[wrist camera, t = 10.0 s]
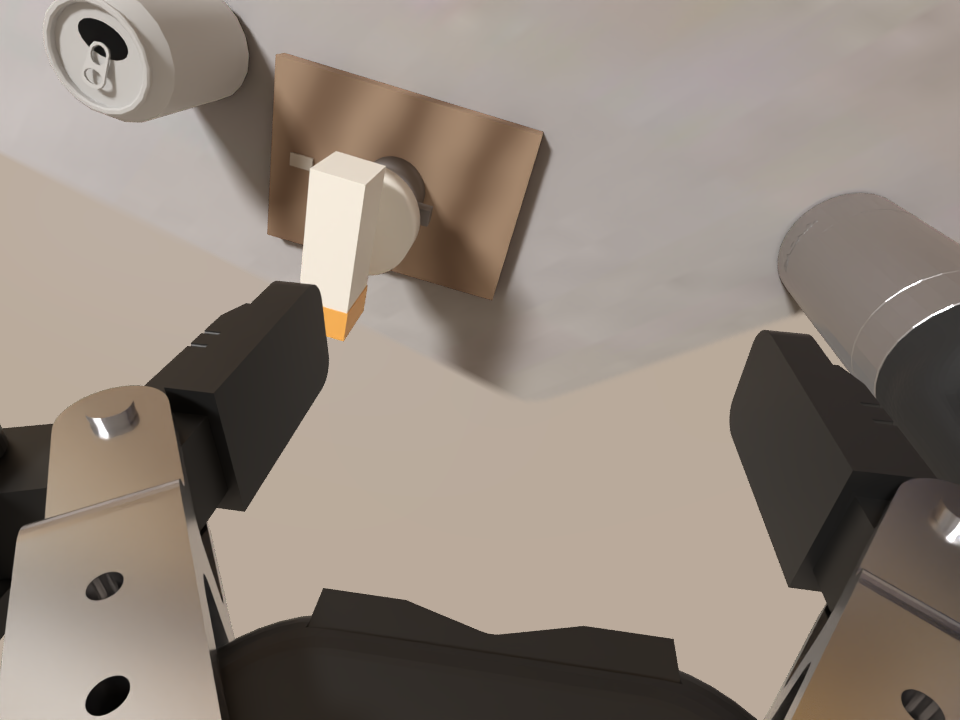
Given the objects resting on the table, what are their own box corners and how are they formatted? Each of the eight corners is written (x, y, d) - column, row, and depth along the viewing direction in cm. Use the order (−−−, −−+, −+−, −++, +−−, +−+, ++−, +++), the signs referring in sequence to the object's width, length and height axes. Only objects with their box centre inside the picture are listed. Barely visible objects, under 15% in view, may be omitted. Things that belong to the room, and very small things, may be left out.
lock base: (543, 131, 42) (539, 155, 36) (494, 292, 50) (483, 335, 44) (284, 52, 42) (234, 62, 36) (275, 228, 49) (232, 261, 43)
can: (265, 19, 41) (167, 26, 31) (241, 117, 45) (147, 151, 35) (165, -39, 40) (29, -52, 30) (149, 66, 44) (24, 87, 34)
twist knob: (329, 126, 37) (272, 157, 29) (434, 157, 37) (402, 196, 30) (315, 264, 42) (264, 318, 35) (406, 290, 42) (373, 350, 35)
